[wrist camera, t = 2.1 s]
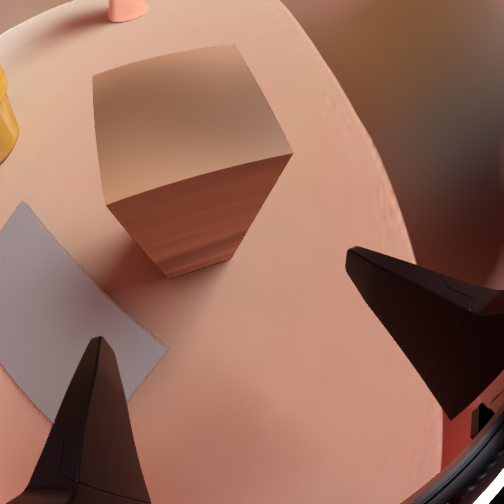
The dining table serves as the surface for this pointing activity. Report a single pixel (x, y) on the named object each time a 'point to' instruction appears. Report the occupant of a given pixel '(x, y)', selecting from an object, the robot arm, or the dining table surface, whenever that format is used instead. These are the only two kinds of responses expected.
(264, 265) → the dining table surface
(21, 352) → the board
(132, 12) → the beer glass
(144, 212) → the walnut block
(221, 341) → the dining table surface
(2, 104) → the plant pot
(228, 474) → the dining table surface
